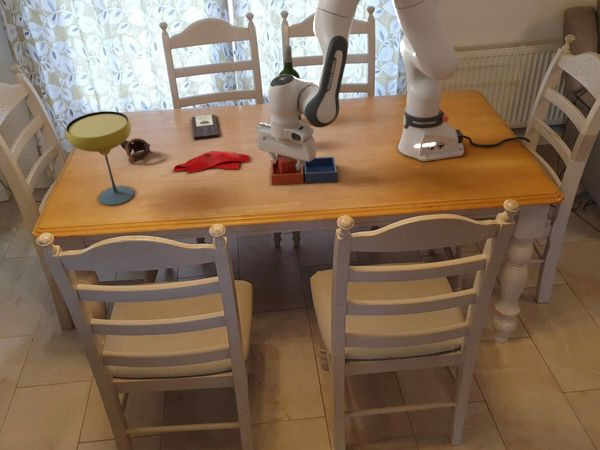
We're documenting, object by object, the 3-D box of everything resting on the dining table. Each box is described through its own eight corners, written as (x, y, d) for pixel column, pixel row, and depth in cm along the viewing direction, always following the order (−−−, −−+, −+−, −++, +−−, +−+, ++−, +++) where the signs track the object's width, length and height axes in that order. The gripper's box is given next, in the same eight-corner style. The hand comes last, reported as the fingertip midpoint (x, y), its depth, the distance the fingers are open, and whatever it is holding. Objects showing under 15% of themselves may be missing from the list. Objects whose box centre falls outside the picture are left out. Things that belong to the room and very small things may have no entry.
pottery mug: (158, 152, 201) (154, 140, 194) (146, 174, 198) (141, 162, 190) (128, 141, 203) (123, 128, 195) (115, 162, 199) (109, 150, 191)
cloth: (250, 150, 200) (249, 144, 199) (250, 169, 189) (249, 163, 187) (177, 154, 199) (176, 149, 198) (172, 174, 188) (171, 168, 186)
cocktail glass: (145, 207, 172) (128, 133, 157) (84, 216, 169) (61, 141, 155) (145, 178, 186) (130, 107, 172) (89, 185, 184) (68, 114, 169)
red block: (292, 166, 186) (291, 153, 183) (296, 173, 182) (295, 160, 180) (278, 168, 185) (277, 155, 182) (282, 175, 181) (281, 162, 178)
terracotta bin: (301, 167, 189) (301, 158, 187) (303, 183, 181) (303, 173, 179) (271, 168, 189) (271, 159, 187) (271, 184, 180) (271, 175, 178)
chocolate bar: (194, 137, 207) (191, 117, 222) (194, 139, 208) (192, 119, 222) (218, 134, 208) (214, 114, 223) (218, 136, 209) (215, 116, 223)
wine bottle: (276, 125, 215) (272, 47, 198) (287, 117, 221) (284, 41, 203) (294, 129, 212) (290, 51, 194) (304, 121, 217) (302, 44, 200)
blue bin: (333, 165, 189) (333, 156, 187) (336, 181, 181) (337, 172, 179) (303, 167, 189) (303, 158, 187) (305, 183, 181) (305, 173, 179)
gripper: (251, 125, 177) (254, 163, 185) (308, 138, 168) (309, 178, 176) (262, 117, 181) (265, 155, 189) (318, 129, 173) (318, 168, 181)
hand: (286, 166), depth 183 cm, fingers closed on red block, 7 cm apart
